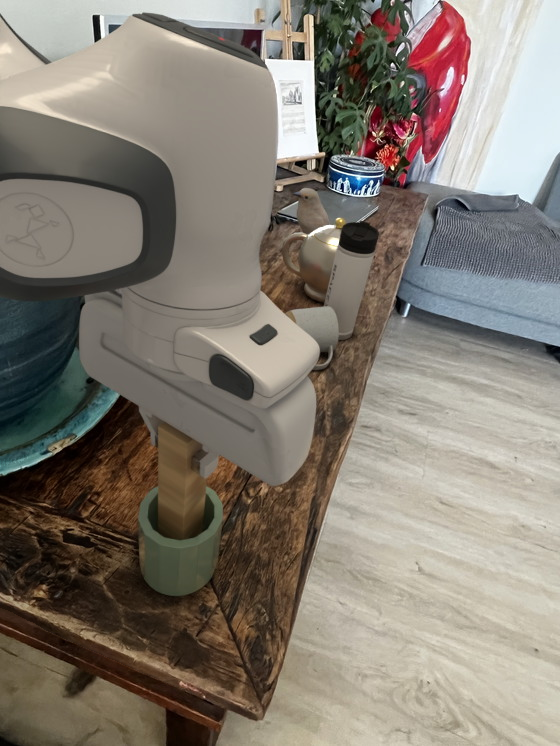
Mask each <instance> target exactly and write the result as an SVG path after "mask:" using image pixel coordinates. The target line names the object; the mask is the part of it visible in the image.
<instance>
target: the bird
mask: <svg viewBox="0 0 560 746" xmlns="http://www.w3.org/2000/svg"><path fill="white" fill-rule="evenodd" d="M292 196H296V197H297V199H298V200H297V201H298V202H297V210H296V220H297V224H298V225H299V228H300V229H301V231H302V233H305V234H308V235H309V234H310V233H312V232H313V231H314V230H316V229H318V228H320V227H323V226H327V225H331V223H330V222H331V221H330V218H329V216H328V213H327V212H326V210H325V208H324V206H323V204H322V201H321V198H320V196H319V194H318V192H317V191H316V190H315V189H313V188H311V187H309V188H308V187H303V188H301V190H299V191H297V192H293V193H292Z"/></svg>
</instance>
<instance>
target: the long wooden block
mask: <svg viewBox="0 0 560 746" xmlns="http://www.w3.org/2000/svg"><path fill="white" fill-rule="evenodd" d="M202 448H203V445H202V444H201V443H199V442H198V441H196V440H194V439H193V438H191V437H189V436H188V435H186V434H184V433H183V432H181V431H179V430H178V429H176V428H174V427H173V426H171V425H169V424H168V423H166V422H164V423H162V424H161V425H159V426H158V448H157V457H158V458H157V486H158V533H159V534H160V535H161V536H163V537H165V538H170V539H175V540H185V539H190V538H195V537H197V536H198V535H200V534H201V533H202V529H203V518H204V507H205V496H206V486H207V483H208V477H207V478H205V479H204V478H203V477H201V476H200V475H198V474H197V473H195V472H194V471H192V470H191V466H192V464H191V457H192V456H194V455H195V454H196V453H197V452H200V450H201V449H202Z"/></svg>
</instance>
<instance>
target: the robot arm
mask: <svg viewBox="0 0 560 746" xmlns="http://www.w3.org/2000/svg"><path fill="white" fill-rule="evenodd" d="M131 14H132V15H131ZM131 14H130V15H128V16H127V18H126V19H125V21H124V22H123V23H122V24H121V25H120V26H119V27H117V28H116V29H115V30H113V31H112V32H110V33H108V34H106V35H105V36H103V37H102V38H100V39H98V40H97V41H96V42H93V43H92V44H90V45H88V46H85V47H84V48H82V49H80V50H78V51H76V52H74V53H72V54H69V55H67V56H65V57H62V58H60V59H57V60H55V61H53V62H52V61H51V60H50V59H48V58H47V57H46V56H44V54H42V53H41V52H39V51H38V50H37V49H36V48H34V46H32V45H31V44H29V43H28V41H26V40H25V39H24V38H23V37H22V36H20V35H19V34H18V33H17V32H16V31H15V29H14V28H12V26H11V25H10V24H9V23H8V21H7V20H6V19H5V18H4V16H3V15H2V13H0V298H3V299H8V300H12V301H20V302H49V301H57V300H64V299H65V300H66V299H70V298H77V297H84V303H85V304H84V305H83V306H82V308H81V310H80V314H79V315H80V316H79V330H78V351H79V353H78V354H79V361H80V364H81V366H82V368H83V369H84V371H85V373H86V374H87V375H88V376H89V377H90V378H92V379H93V380H95V381H97V382H98V383H100V384H102V385H103V386H105V387H107V388H108V389H110V390H111V391H112V392H115V393H116V394H118V395H120V396H121V397H123V398H124V399H126V400H128V401H130V402H131V403H133V404H135V405H137V406H138V412H139V414H140V416H141V418H142V420H143V422H144V424H145V426H146V427H147V429H148V431H149V432H150V445H151V446H152V447H154V448H156V449H158V426H159V425H161V424H162V423H164V422H166V423H168V424H169V425H171V426H173V427H174V428H176V429H178V430H179V431H181V432H183V433H184V434H186V435H188V436H189V437H191V438H193V439H194V440H196V441H198V442H199V443H201V444H202V445H203V448H202V449H201V450H200V452H197V453H196V454H195V455H194V456H192V457H191V464H192V466H191V470H192V471H194V472H195V473H197V474H198V475H200V476H201V477H203V478H204V479H205V478H207V479H208V477H210V476H211V475H212V474H213V473H214V472H215V471H216V470H217V468H218V465H219V458H220V456H221V457H222V458H224V459H226V460H228V461H229V462H231V463H232V464H234V465H235V466H237V467H239V468H240V469H242V470H243V471H245V472H247V473H249V474H250V475H252V476H254V477H255V478H257V479H259V480H261V481H262V482H263V483H265V484H267V485H268V486H270V487H278V486H281V485H283V484H286V483H287V482H289V481H290V479H291V478H293V477H294V476H295V474H296V473H297V472H298V471H299V470H300V469H301V467H302V466H303V465H304V463H305V461H306V460H307V458H308V456H309V453H310V451H311V445H312V442H313V436H314V432H315V431H314V429H315V424H316V423H315V422H316V413H317V394H316V389H315V387H314V384H313V381H312V379H311V378H310V377H309V376H308V375H309V374H310V373H311V372H312V371H313V370H312V369H313V368H314V366H315V365H316V364H318V361H319V358H320V355H321V352H320V348H319V345H318V343H317V342H316V341H315V340H314V339H313V338H312V337H311V336H310V335H309V334H307V333H306V332H305V331H304V330H303V329H301V328H300V327H299V326H298V325H297V324H295V323H294V322H293V321H292V320H291V319H290V318H289V317H287V316H286V315H285V312H283V311H282V310H281V309H280V308H279V307H278V306H277V305H276V304H275V303H274V302H273V301H272V299H270V298H269V297H268V296H267V295H266V293H264V291H262V290H261V289H262V282H263V281H262V280H263V275H262V274H263V273H262V267H261V261H260V251H261V246H262V241H263V239H264V236H265V234H266V232H267V230H268V228H269V225H270V222H271V217H272V211H273V204H274V202H273V201H274V195H275V185H276V177H277V164H278V151H279V150H278V149H279V125H280V124H279V123H280V122H279V121H280V119H279V96H278V89H277V84H276V80H275V78H274V75H273V73H272V72H271V71H270V69H269V67H268V66H267V64H266V63H265V61H264V60H263V59H262V58H261V57H260V56H259V55H258V54H257V53H256V52H254V51H253V50H251V49H250V48H249V47H245V46H243V45H242V44H240V43H237V42H235V41H233V40H230V39H227V38H225V37H223V36H219V35H217V34H215V33H211V32H210V31H207V30H204V29H201V28H199V27H196V26H193V25H190V24H187V23H185V22H183V21H180V20H178V19H175V18H172V17H170V16H166V15H164V14H159V13H154V12H145V11H143V12H142V13H131Z"/></svg>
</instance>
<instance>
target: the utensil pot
mask: <svg viewBox="0 0 560 746" xmlns="http://www.w3.org/2000/svg"><path fill="white" fill-rule="evenodd" d="M223 521H224V505H223V502H222V501H221V499H220V497H219V495H218V494H217V492H216V491H215V490H214V489H212V488H211V487H209V486H207V485H206V496H205V507H204V518H203V529H202V533H201V534H200V535H198V536H197V537H195V538H190V539H185V540H175V539H170V538H165V537H163V536H161V535H160V534H159V533H158V485H157V486H155V487H153V488H151V489H150V490H149V491H148V493H147V494H146V495H145V496H144V498H143V499H142V500H141V502H140V504H139V509H138V517H137V526H138V527H137V529H138V556H139V557H138V558H139V566H140V571H141V572H140V573H141V575H142V577H143V579H144V581H145V582H146V584H147V585H148V586H149V587H150V588H152V590H154V591H156V592H158V593H159V594H162V595H165V596H170V597H181V596H182V597H183V596H187V595H191V594H193V593H196V592H198V591H199V590H200V589H202V588H203V587H204V586H206V585H207V584H208V583H209V581H210V580H211V579H212V577H213V576H214V574H215V572H216V568H217V565H218V561H219V553H220V546H221V537H222V531H223V530H222V529H223V523H224V522H223Z"/></svg>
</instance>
